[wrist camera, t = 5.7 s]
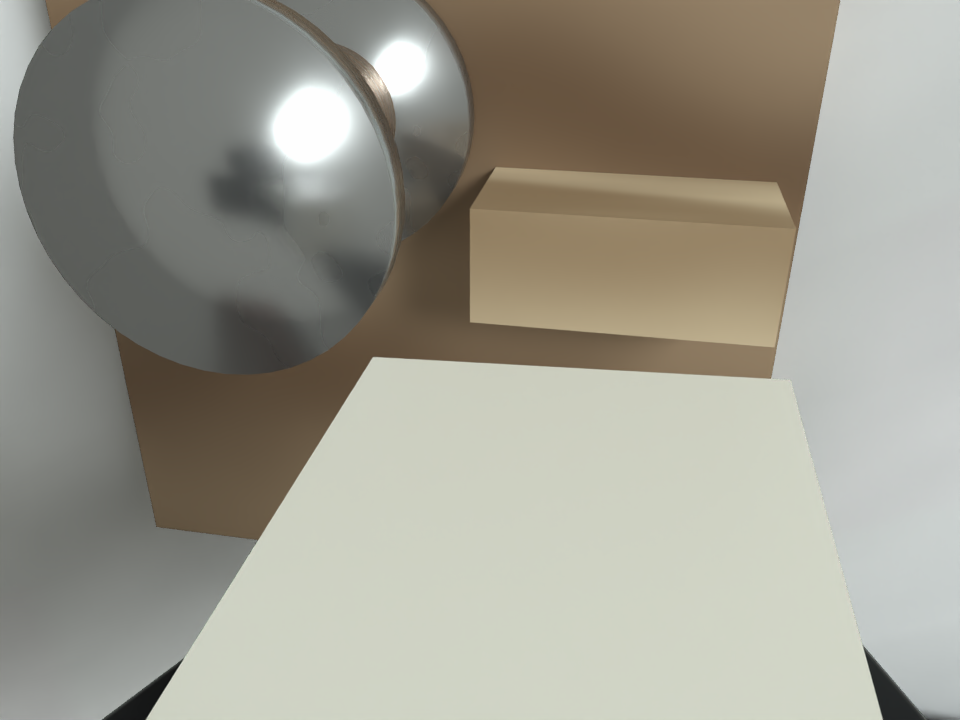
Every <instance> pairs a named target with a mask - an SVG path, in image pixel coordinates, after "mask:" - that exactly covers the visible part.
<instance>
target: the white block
mask: <svg viewBox="0 0 960 720" xmlns="http://www.w3.org/2000/svg"><path fill="white" fill-rule="evenodd" d="M146 720H883V718H882V715H881V711H880V707H879V704H878V700H877V696H876V693H875V689H874V685H873V682H872V678H871V674H870V671H869V667H868V663H867V660H866V656H865V652H864V649H863V645H862V641H861V637H860V634H859V630H858V626H857V623H856V619H855V615H854V612H853V608H852V604H851V601H850V597H849V593H848V590H847V586H846V582H845V579H844V575H843V571H842V568H841V564H840V560H839V557H838V553H837V549H836V545H835V542H834V538H833V534H832V531H831V527H830V523H829V520H828V516H827V512H826V509H825V505H824V501H823V498H822V494H821V490H820V487H819V483H818V479H817V476H816V472H815V468H814V465H813V461H812V457H811V454H810V450H809V446H808V443H807V439H806V435H805V431H804V428H803V424H802V420H801V417H800V413H799V409H798V406H797V402H796V398H795V395H794V391H793V387H792V384H791V380H783V379H765V378H747V377H728V376H710V375H692V374H674V373H656V372H638V371H619V370H601V369H583V368H565V367H547V366H529V365H510V364H492V363H474V362H456V361H438V360H420V359H401V358H383V357H373V358H372V359H371V361H370V363H369V364H368V366H367V367H366V369H365V371H364V372H363V374H362V375H361V377H360V379H359V380H358V382H357V383H356V385H355V387H354V388H353V390H352V391H351V393H350V395H349V396H348V398H347V399H346V401H345V403H344V404H343V406H342V407H341V409H340V411H339V412H338V414H337V415H336V417H335V419H334V420H333V422H332V423H331V425H330V426H329V428H328V430H327V431H326V433H325V434H324V436H323V438H322V439H321V441H320V442H319V444H318V446H317V447H316V449H315V450H314V452H313V454H312V455H311V457H310V458H309V460H308V462H307V463H306V465H305V466H304V468H303V470H302V471H301V473H300V474H299V476H298V478H297V479H296V481H295V482H294V484H293V486H292V487H291V489H290V490H289V492H288V494H287V495H286V497H285V498H284V500H283V502H282V503H281V505H280V506H279V508H278V509H277V511H276V513H275V514H274V516H273V517H272V519H271V521H270V522H269V524H268V525H267V527H266V529H265V530H264V532H263V533H262V535H261V537H260V538H259V540H258V541H257V543H256V545H255V546H254V548H253V549H252V551H251V553H250V554H249V556H248V557H247V559H246V561H245V562H244V564H243V565H242V567H241V569H240V570H239V572H238V573H237V575H236V577H235V578H234V580H233V581H232V583H231V584H230V586H229V588H228V589H227V591H226V592H225V594H224V596H223V597H222V599H221V600H220V602H219V604H218V605H217V607H216V608H215V610H214V612H213V613H212V615H211V616H210V618H209V620H208V621H207V623H206V624H205V626H204V628H203V629H202V631H201V632H200V634H199V636H198V637H197V639H196V640H195V642H194V644H193V645H192V647H191V648H190V650H189V652H188V653H187V655H186V656H185V658H184V659H183V661H182V663H181V664H180V666H179V667H178V669H177V671H176V672H175V674H174V675H173V677H172V679H171V680H170V682H169V683H168V685H167V687H166V688H165V690H164V691H163V693H162V695H161V696H160V698H159V699H158V701H157V703H156V704H155V706H154V707H153V709H152V711H151V712H150V714H149V715H148V717H147V719H146Z"/></svg>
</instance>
